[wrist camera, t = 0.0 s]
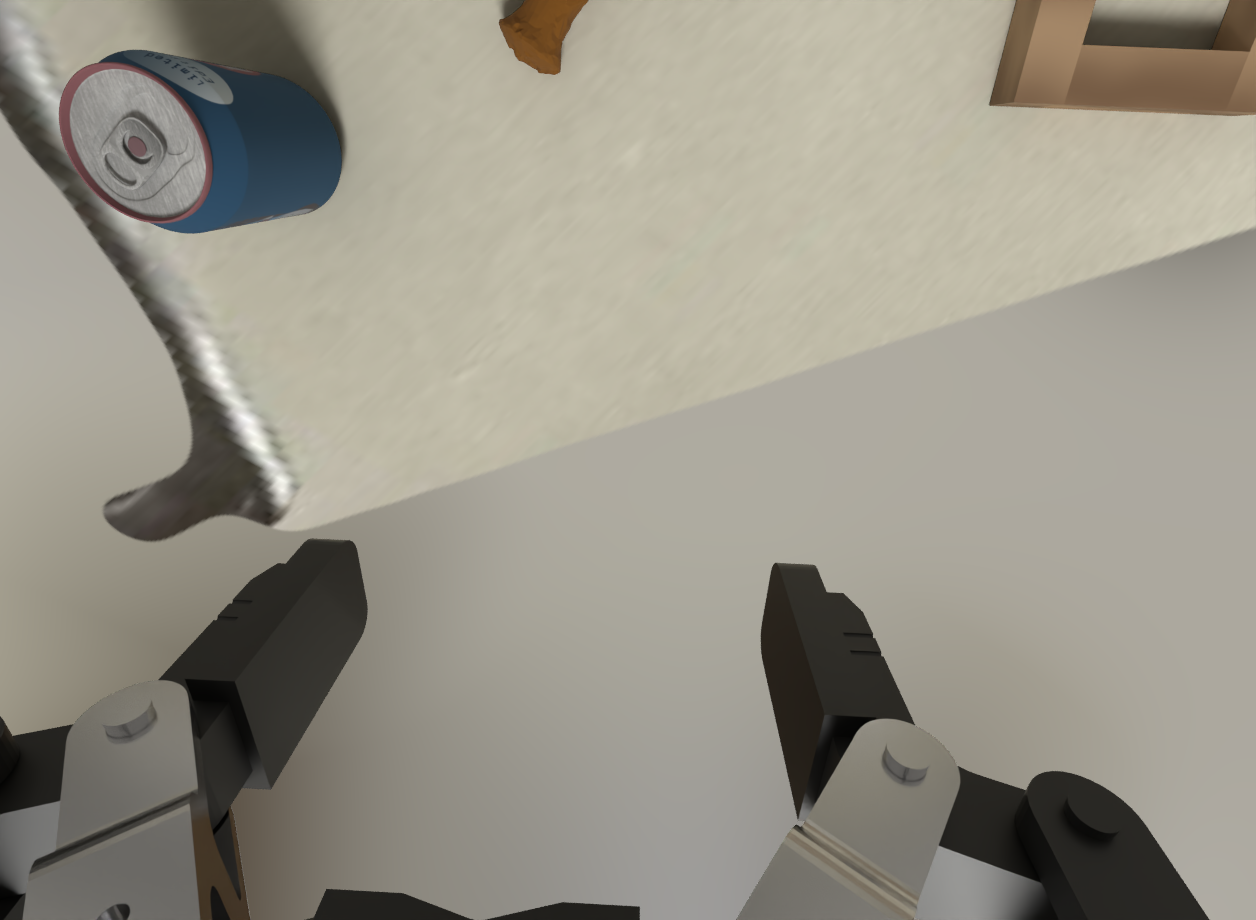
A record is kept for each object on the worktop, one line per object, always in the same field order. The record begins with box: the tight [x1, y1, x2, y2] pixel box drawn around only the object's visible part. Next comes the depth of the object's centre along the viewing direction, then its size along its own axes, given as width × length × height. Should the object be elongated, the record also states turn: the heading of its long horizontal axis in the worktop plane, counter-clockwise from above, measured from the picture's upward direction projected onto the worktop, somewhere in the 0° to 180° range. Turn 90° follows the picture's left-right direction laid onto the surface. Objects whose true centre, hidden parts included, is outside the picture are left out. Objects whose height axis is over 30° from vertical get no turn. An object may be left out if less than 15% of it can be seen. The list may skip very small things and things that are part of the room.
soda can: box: [59, 50, 342, 233], centre depth 30 cm, size 7×7×12 cm
